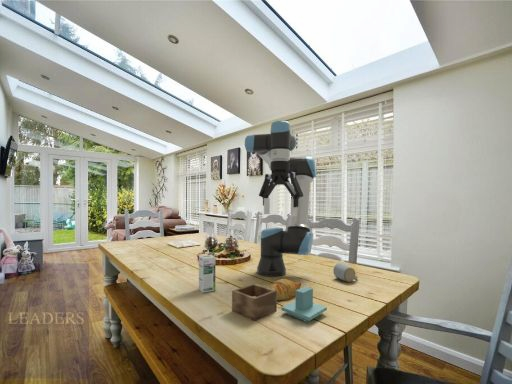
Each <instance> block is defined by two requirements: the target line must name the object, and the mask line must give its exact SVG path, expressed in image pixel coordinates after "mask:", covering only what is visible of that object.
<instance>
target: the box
mask: <svg viewBox="0 0 512 384" xmlns="http://www.w3.org/2000/svg"><path fill="white" fill-rule="evenodd" d="M231 293H232V295H231V297H232V298H231V311H232V312H234V313H235V314H237V315H240V316H242V317H245V318H247V319H249V320H251V321H254V322H256V321H258V320H260V319H262V318H265V317H266V316H269V315H271V314H273V313H275V312H277V311H278V310H277V307H278V306H277V305H278V303H277V302H278V300H277V291H276V290H273V289H270V287H269V288H268V287H266V286H262V285H260V284H256V283H253V284H252V283H251V284H249V285H246V286H242V287H240V288H236V289H234V290H231ZM253 296H256V297H253Z"/></svg>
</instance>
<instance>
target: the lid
mask: <svg viewBox="0 0 512 384" xmlns="http://www.w3.org/2000/svg"><path fill="white" fill-rule="evenodd" d="M281 311H283V312H286V313H287V314H288V316H292V317H294V318H295V319H298V320H302V321H305V322H306V323H307V322H310V321H311V320H314V319H315V318H317V317H319V316H320V315H322V314H323V313H324V312H326V311H328V306H325V305H321V304H319V303H315V302H314V288H313V287H308V286H303V287H300V289H298V290H296V294H295V300H294V301H292V302H290V303H288V304H285V305H284V306H281Z"/></svg>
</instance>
